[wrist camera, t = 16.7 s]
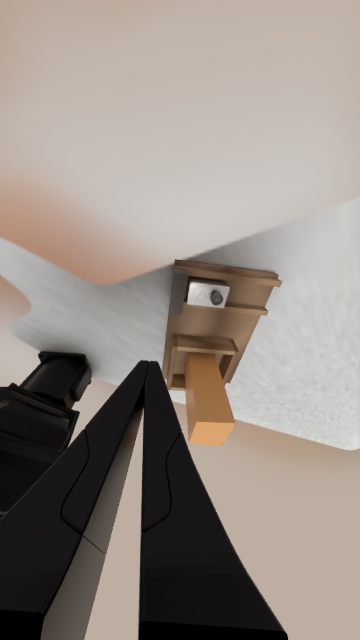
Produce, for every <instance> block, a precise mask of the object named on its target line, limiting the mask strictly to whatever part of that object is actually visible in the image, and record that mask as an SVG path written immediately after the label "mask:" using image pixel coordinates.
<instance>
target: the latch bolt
mask: <svg viewBox="0 0 360 640" xmlns="http://www.w3.org/2000/svg"><path fill="white" fill-rule="evenodd" d="M229 289H230V286H229V285H228V284H227V283H226V281H224V280H216V279H208V278H200V277H192V276H189V280H188V286H187V292H186V302H187V304H189V305H198V306H207V307H216V308H224V306H225V302H226V299H227V296H228V293H229Z"/></svg>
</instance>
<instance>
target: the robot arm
mask: <svg viewBox="0 0 360 640" xmlns="http://www.w3.org/2000/svg"><path fill="white" fill-rule="evenodd" d="M38 357H39V359H40V361H41V363H40V365H38V367H37V368H36V369H35V370H34V371H33V372H32V373H31V374H30V375H29V376H28V377H27V378H26V379H25V380H24V381H23V383H22V384H21V385H20V386H17V385H16V384H15V383H11V384H10V385H9V386H8V387H0V640H84V638H85V634H86V630H87V626H88V622H89V619H90V615H91V611H92V606H93V603H94V599H95V595H96V591H97V588H98V584H99V580H100V576H101V572H102V568H103V564H104V561H105V557H106V556H105V554H106V553H107V549H108V545H109V541H110V537H111V533H112V530H113V526H114V522H115V518H116V514H117V510H118V506H119V502H120V499H121V495H122V490H123V487H124V483H125V479H126V475H127V471H128V467H129V464H130V460H131V456H132V452H133V448H134V445H135V440H136V437H137V433H138V429H139V425H140V421H141V418H142V414H143V409H144V422H143V463H142V504H141V542H140V583H139V622H138V640H288V636H287V633H286V632H285V630H284V629H283V627H282V626H281V624H280V622H279V621H278V619H277V618H276V616H275V615H274V613H273V612H272V610H271V608H270V607H269V606H268V604H267V602H266V601H265V599H264V598H263V596H262V595H261V593H260V592H259V590H258V588H257V587H256V585H255V584H254V582H253V580H252V579H251V577H250V576H249V574H248V573H247V571H246V569H245V568H244V566H243V564H242V562H241V560H240V559H239V557H238V555H237V553H236V551H235V549H234V547H233V545H232V543H231V542H230V539H229V537H228V535H227V534H226V531H225V529H224V527H223V525H222V523H221V521H220V519H219V516H218V514H217V512H216V510H215V508H214V506H213V503H212V501H211V499H210V497H209V495H208V493H207V491H206V489H205V486H204V484H203V482H202V480H201V478H200V475H199V473H198V471H197V469H196V466H195V464H194V462H193V460H192V457H191V454H190V451H189V449H188V446H187V443H186V441H185V438H184V435H183V433H182V429H181V427H180V424H179V421H178V418H177V415H176V412H175V409H174V406H173V403H172V400H171V398H170V395H169V392H168V389H167V386H166V383H165V380H164V377H163V374H162V372H161V369H160V366H159V363H158V362H157V361H150V362H149V361H146V360H141V361H139V362H138V364H137V365H136V366H135V367H134V368H133V370H132V371H131V372H130V373H129V375H128V376H127V377H126V378H125V379H124V381H123V382H122V383H121V384H120V385H119V387H118V388H117V389H116V390H115V392H114V393H113V394H112V395H111V396H110V397H109V399H108V400H107V401H106V402H105V404H104V405H103V406H102V407H101V408H100V410H99V411H98V412H97V413H96V414H95V416H94V417H93V418H92V419H91V421H90V422H89V423H88V424H87V425H86V427H85V429H83V430H82V431H81V432H80V434H79V435H78V436H77V437H76V439H75V440H74V441H73V442H72V443H71V444H70V446H69V447H68V445H69V443H70V440H71V437H72V434H73V431H74V428H75V425H76V422H77V419H78V416H79V414H80V412H79V411H75V410H72V407H73V405H74V403H75V402H78V401H79V400H80V399H81V397H82V395H83V393H84V391H85V389H86V387H87V385H89V384H90V383H91V374H90V370H89V367H88V364H87V360H86V357H85V356H84V355H80V354H66V353H53V352H40V353H39V354H38ZM67 447H68V448H67Z"/></svg>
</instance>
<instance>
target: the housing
mask: <svg viewBox="0 0 360 640" xmlns="http://www.w3.org/2000/svg"><path fill="white" fill-rule="evenodd" d="M189 276H192V277H200V278H208V279H216V280H224V281H226V283H227V284H228V285H229V286H230V289H229V293H228V296H227V299H226V302H225V306H224V308H216V307H207V306H198V305H189V304H187V302H186V292H187V286H188V280H189ZM278 276H279V275H278V274H276V273H274V272H266V271H259V270H251V269H244V268H236V267H229V266H221V265H214V264H206V263H199V262H191V261H183V260H175V265H174V274H173V283H172V291H171V300H170V309H169V318H168V327H167V336H166V345H165V354H164V363H163V372H162V374H163V377H164V379H167V389H168V390H181V391H185V375H184V366H185V362H186V357H187V352H188V351H190V352H202V353H214V354H215V356H216V360H217V363H218V367H219V370H220V373H221V377H222V380H223V383H224V386H225V384H226V383H230V382H231V380H232V377H233V375H234V373H235V371H236V369H237V366H238V364H239V362H240V360H241V358H242V355H243V353H244V351H245V349H246V347H247V344H248V342H249V340H250V338H251V336H252V333H253V331H254V329H255V327H256V325H257V322H258V320H259V318H260V316H261V315H267V313H268V310H267V309H266V308H265V305H266V302H267V300H268V298H269V296H270V294H271V291H272V289H273V287H274V286H276V287H280V285H281V283H282V281H280V280H279V279H277V278H278Z"/></svg>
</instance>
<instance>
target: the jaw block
mask: <svg viewBox="0 0 360 640" xmlns="http://www.w3.org/2000/svg"><path fill="white" fill-rule="evenodd" d="M184 375H185V391H186V407H187V422H188V423H187V424H188V440H189V444H212V445H213V444H214V445H222V444H223V443H224V441H225V440H226V438H227V436H228V435H229V433H230V431H231V430H232V428H233V426H234V425H235V421H234V417H233V414H232V410H231V407H230V404H229V400H228V397H227V394H226V390H225V387H224V383H223V380H222V377H221V373H220V370H219V367H218V363H217V360H216V356H215V354H214V353H202V352H190V351H188V352H187V357H186V362H185V366H184Z"/></svg>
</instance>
